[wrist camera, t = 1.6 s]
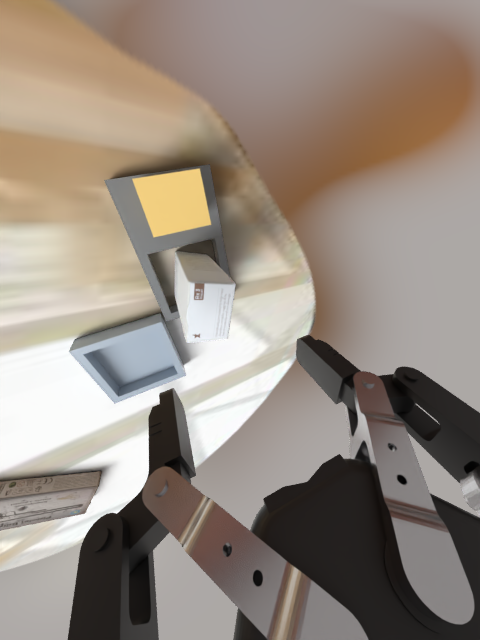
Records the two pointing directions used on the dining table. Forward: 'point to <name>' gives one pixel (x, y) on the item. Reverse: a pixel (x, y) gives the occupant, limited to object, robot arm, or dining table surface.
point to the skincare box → (202, 297)
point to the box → (45, 498)
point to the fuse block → (168, 217)
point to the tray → (130, 357)
